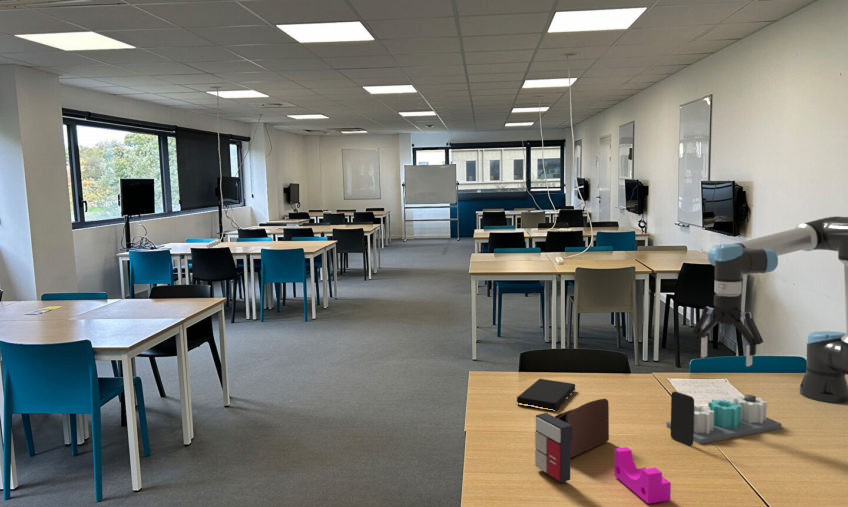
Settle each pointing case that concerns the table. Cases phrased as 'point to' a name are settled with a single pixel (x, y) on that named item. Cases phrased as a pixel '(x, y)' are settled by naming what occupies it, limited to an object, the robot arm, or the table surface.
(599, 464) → the table surface
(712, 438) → the gear board
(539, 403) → the black book
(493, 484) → the table surface
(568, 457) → the calculator
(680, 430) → the phone
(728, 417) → the teal gear
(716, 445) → the table surface
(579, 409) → the letter holder
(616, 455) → the magenta mounting bracket
